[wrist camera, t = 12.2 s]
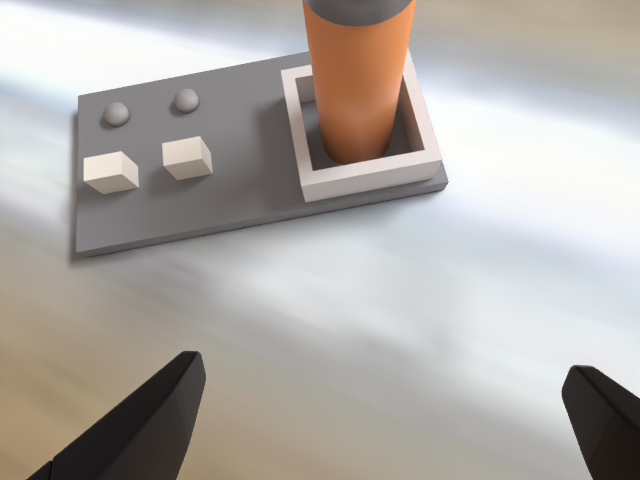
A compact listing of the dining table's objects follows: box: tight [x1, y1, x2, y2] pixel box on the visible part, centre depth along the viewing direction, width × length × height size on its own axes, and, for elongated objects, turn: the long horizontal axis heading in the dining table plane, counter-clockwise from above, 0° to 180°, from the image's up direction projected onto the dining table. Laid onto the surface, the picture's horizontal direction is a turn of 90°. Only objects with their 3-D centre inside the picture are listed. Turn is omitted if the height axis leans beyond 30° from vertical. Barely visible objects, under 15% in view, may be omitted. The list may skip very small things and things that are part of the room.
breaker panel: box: [76, 47, 448, 257], centre depth 25 cm, size 24×12×4 cm, turn 100°
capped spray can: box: [302, 0, 416, 165], centre depth 19 cm, size 5×5×13 cm
